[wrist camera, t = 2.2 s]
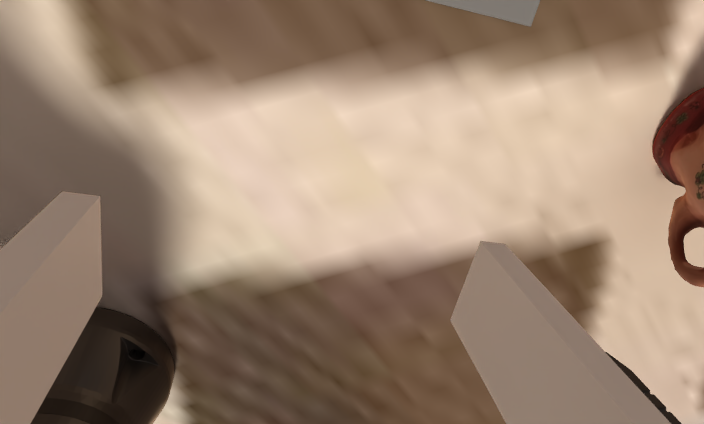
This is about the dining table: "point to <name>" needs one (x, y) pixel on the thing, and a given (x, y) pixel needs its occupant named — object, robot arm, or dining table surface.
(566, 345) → the robot arm
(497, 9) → the mat
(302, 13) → the dining table surface
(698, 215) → the brown rounded vessel
